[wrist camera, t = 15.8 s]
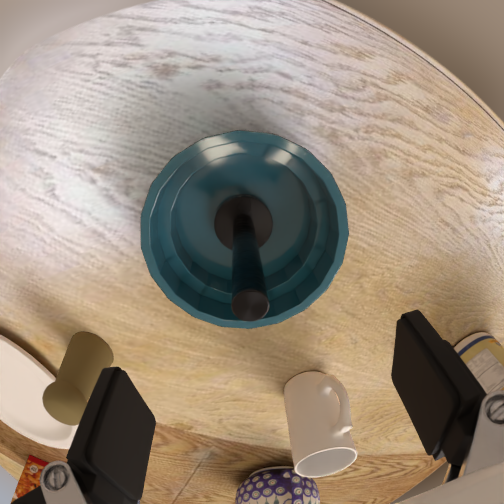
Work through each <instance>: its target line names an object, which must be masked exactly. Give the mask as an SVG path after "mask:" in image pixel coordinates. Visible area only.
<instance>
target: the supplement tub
mask: <svg viewBox="0 0 504 504" xmlns="http://www.w3.org/2000/svg"><path fill="white" fill-rule="evenodd" d="M454 350H455V351H456V352H457V353H458V355H459V356H460V357H461V359H462V360H463V361H464V363H465V364H466V365H467V367H468V368H469V369H470V371H471V372H472V373H473V375H474V376H475V378H476V379H477V380H478V382H479V383H480V385H481V386H482V387H483V389H484V390H485V392H486V393H487V395H488V394H489V393H491V392H493V391H496V390H504V348H503V346H502V345H501V344H500V343H499V342H498V341H497V340H496V339H495V338H494V337H493V336H492V335H490V334H488V333H484V332H480V333H475V334H472V335H470V336H468V337H466V338H465V339H463V340H462V341H461V342H459V343H458V344H457V345H456V346H455V347H454Z"/></svg>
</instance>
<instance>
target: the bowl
mask: <svg viewBox="0 0 504 504" xmlns="http://www.w3.org/2000/svg"><path fill="white" fill-rule="evenodd" d="M237 194H249V195H253V196H256V197H258V198H259V199H261V200H262V201H263V202H264V203H265V204H266V205H267V207H268V209H269V211H270V213H271V216H272V219H273V229H272V233H271V235H270V237H269V239H268V241H267V242H266V243H265V244H264V245H263V246H261V247H260V248H259V252H260V257H261V262H262V267H263V273H264V278H265V283H266V288H267V294H268V299H269V310H268V312H267V313H266V315H265V316H264V317H263V318H261V319H259V320H257V321H252V322H248V321H243V320H241V319H239V318H238V317H236V316H235V314H234V313H233V311H232V306H231V302H232V250H230V249H228V248H227V247H225V246H224V245H223V244H222V243H221V242H220V241H219V239H218V238H217V236H216V233H215V229H214V220H215V216H216V212H217V210H218V208H219V206H220V205H221V204H222V203H223V202H224V201H225V200H226V199H228V198H229V197H231V196H234V195H237ZM348 236H349V229H348V219H347V210H346V203H345V201H344V199H343V196H342V194H341V192H340V190H339V188H338V186H337V184H336V182H335V180H334V178H333V176H332V174H331V173H330V171H329V170H328V169H327V168H326V167H325V166H324V165H323V164H322V163H321V162H320V161H319V160H318V159H317V158H316V157H315V156H314V155H313V154H312V153H311V152H310V151H309V150H307V149H306V148H304V147H302V146H300V145H297V144H295V143H293V142H291V141H289V140H287V139H285V138H283V137H281V136H279V135H276V134H271V133H263V132H254V131H244V130H236V131H232V132H227V133H223V134H218V135H214V136H210V137H206V138H203V139H201V140H199V141H198V142H196V143H194V144H193V145H191V146H189V147H188V148H186V149H185V150H183V151H182V152H180V153H178V154H177V155H175V156H174V157H173V158H172V159H171V160H170V161H169V162H168V163H167V165H166V166H165V167H164V168H163V170H162V171H161V172H160V174H159V175H158V176H157V177H156V179H155V180H154V181H153V183H152V184H151V186H150V189H149V192H148V195H147V198H146V201H145V204H144V207H143V210H142V213H141V249H142V252H143V255H144V258H145V261H146V264H147V267H148V269H149V272H150V275H151V276H152V278H153V279H154V281H155V282H156V283H157V285H158V286H159V287H160V288H161V290H162V291H163V292H164V294H165V295H166V296H167V298H168V299H170V301H172V302H173V303H174V304H176V305H177V306H179V307H180V308H181V309H183V310H184V311H186V312H187V313H188V314H190V315H191V316H194V317H195V318H198V319H200V320H203V321H206V322H209V323H212V324H215V325H217V326H221V327H231V328H246V329H250V328H251V329H252V328H257V327H262V326H267V325H272V324H277V323H280V322H282V321H284V320H286V319H288V318H290V317H292V316H294V315H296V314H298V313H300V312H302V311H304V310H305V309H307V308H308V307H309V306H310V305H311V304H312V303H313V302H314V301H315V300H317V299H318V298H319V297H320V296H321V295H322V294H323V293H324V292H325V291H326V290H327V289H328V287H329V286H330V284H331V282H332V281H333V279H334V277H335V275H336V274H337V272H338V270H339V269H340V267H341V265H342V263H343V259H344V255H345V250H346V246H347V241H348Z"/></svg>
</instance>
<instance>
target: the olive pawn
mask: <svg viewBox="0 0 504 504" xmlns="http://www.w3.org/2000/svg"><path fill="white" fill-rule="evenodd" d="M112 362H113V353H112V350H111V349H110V347H109V346H108V344H107V343H106V342H105V341H104V340H103V339H101V338H100V337H98V336H97V335H94V334H92V333H89V332H79V333H76V334H75V335H73V337H72V339H71V341H70V344H69V346H68V349H67V351H66V354H65V356H64V359H63V361H62V364H61V367H60V369H59V372H58V375H57V378H56V380H55V382H52V383H51V384H49V385H48V386H47V387H46V389H45V390H44V393H43V397H42V400H43V406H44V408H45V410H46V411H47V412H48V413H49V414H50V416H52V417H53V418H54V419H55V420H57V421H59V422H61V423H63V424H66V425H70V426H75V425H78V424H79V423H80V420H81V418H82V415H83V413H84V410H85V408H86V406H87V400H88V399H89V397H90V396H91V394H92V391H93V389H94V387H95V384H96V382H97V380H98V378H99V375H100V373H101V371H102V369H103V368H107V367H110V365H111V364H112Z"/></svg>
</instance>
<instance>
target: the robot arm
mask: <svg viewBox="0 0 504 504" xmlns="http://www.w3.org/2000/svg"><path fill="white" fill-rule="evenodd" d="M391 376H392V381H393V384H394V386H395V388H396V390H397V392H398V394H399V396H400V398H401V400H402V402H403V404H404V406H405V408H406V410H407V412H408V414H409V416H410V418H411V420H412V423H413V425H414V427H415V429H416V431H417V433H418V435H419V437H420V440H421V442H422V444H423V446H424V448H425V451H426V453H427V454H428V455H433V457H434V460H435V461H436V460H438V459H440V458H442V457H446V459H447V461H448V463H449V467H448V469H447V472H446V475H445V478H444V480H443V483H442V485H441V486H438V487H436V488H434V489H431V490H429V491H427V492H424V493H422V494H419V495H417V496H414V497H411V498H409V499H406V500H403V501H400V502H398V503H395V504H504V390H496V391H493V392H491V393H489V394H488V395H487V393H486V392H485V390H484V389H483V387H482V386H481V385H480V383H479V382H478V380H477V379H476V378H475V376H474V375H473V373H472V372H471V371H470V369H469V368H468V367H467V365H466V364H465V363H464V361H463V360H462V359H461V357H460V356H459V355H458V353H457V352H456V351H455V350H454V348H453V347H452V346H451V344H450V343H449V342H448V341H446V340H443V339H442V338H441V337H440V335H439V334H438V333H437V332H436V330H435V329H434V328H433V327H432V325H431V324H430V323H429V322H428V320H427V319H426V318H425V317H424V315H423V314H422V313H421V312H420V311H419V310H414V311H411V312H407V313H404V314H402V316H401V319H399V320H398V321H397V326H396V338H395V348H394V357H393V366H392V374H391ZM155 425H156V421H155V417H154V415H153V414H152V412H151V411H150V409H149V408H148V406H147V405H146V403H145V402H144V400H143V399H142V397H141V396H140V394H139V392H138V391H137V389H136V388H135V386H134V385H133V383H132V381H131V380H130V378H129V376H128V375H127V373H126V372H125V371H124V370H121V368H119V367H107V368H103V369H102V371H101V373H100V375H99V378H98V380H97V382H96V384H95V387H94V389H93V391H92V394H91V396H90V398H89V401H88V403H87V406H86V408H85V410H84V413H83V415H82V418H81V420H80V423H79V425H78V428H77V430H76V433H75V435H74V438H73V441H72V443H71V446H70V449H69V451H68V454H67V457H66V458H67V459H68V461H67V463H65V462H63V461H53V462H50V463H49V464H48V465H46V466H45V467H44V469H43V470H42V472H41V474H40V486H38V487H37V488H35V489H33V490H31V491H30V492H28V493H26V494H25V495H23V496H21V497H19V498H17V499H16V500H14V501H13V502H12V503H11V504H137V503H138V500H140V499H141V498H142V493H143V488H144V482H145V476H146V471H147V466H148V460H149V455H150V450H151V445H152V440H153V435H154V430H155Z"/></svg>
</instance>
